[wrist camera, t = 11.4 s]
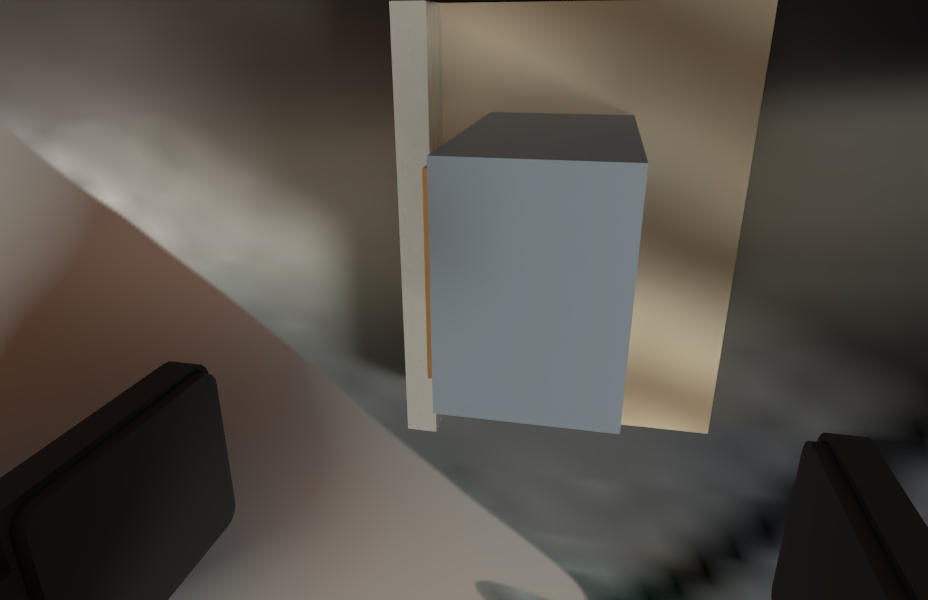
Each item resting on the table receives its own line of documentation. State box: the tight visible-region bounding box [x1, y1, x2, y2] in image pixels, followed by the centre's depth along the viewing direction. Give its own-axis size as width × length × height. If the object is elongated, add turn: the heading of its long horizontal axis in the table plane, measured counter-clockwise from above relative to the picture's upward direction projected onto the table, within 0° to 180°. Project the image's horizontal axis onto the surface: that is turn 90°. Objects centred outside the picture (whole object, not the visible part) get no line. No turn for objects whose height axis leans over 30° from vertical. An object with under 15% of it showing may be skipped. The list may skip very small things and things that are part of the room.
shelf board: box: [389, 0, 778, 434], centre depth 24 cm, size 16×12×4 cm
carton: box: [422, 112, 648, 434], centre depth 20 cm, size 5×7×9 cm
